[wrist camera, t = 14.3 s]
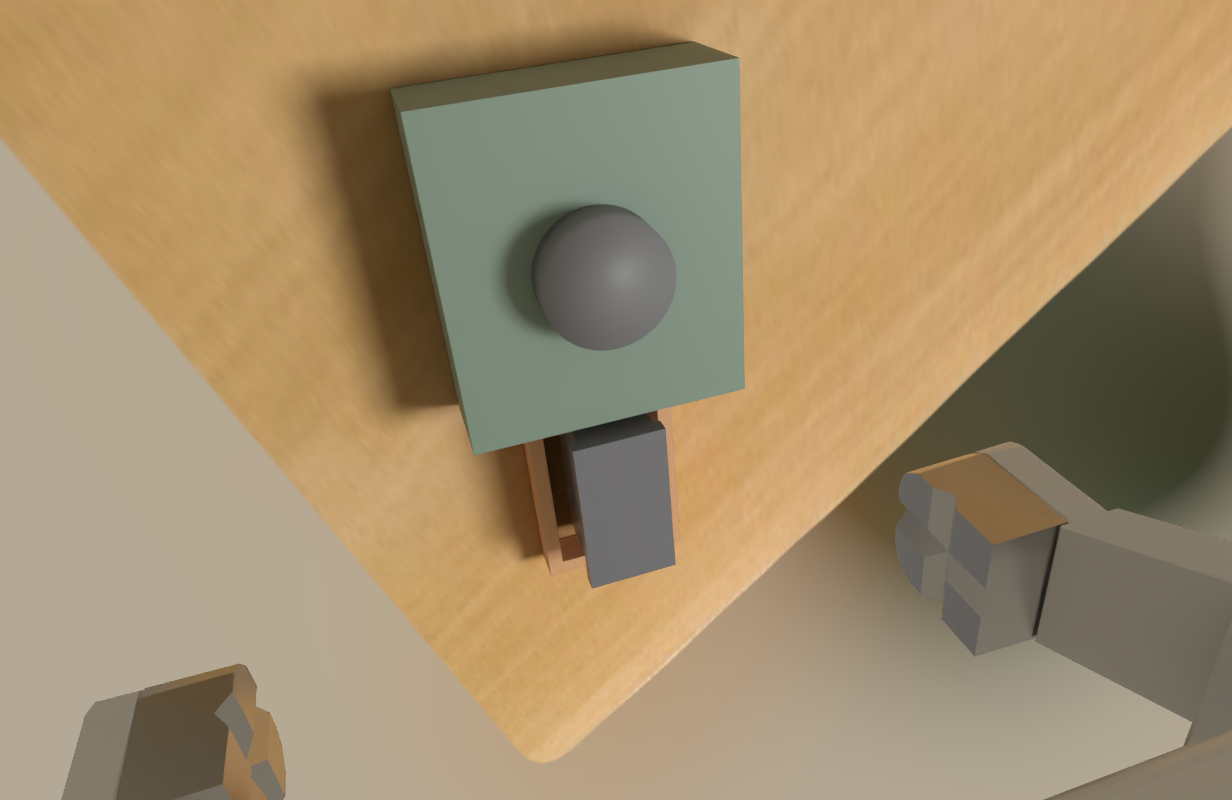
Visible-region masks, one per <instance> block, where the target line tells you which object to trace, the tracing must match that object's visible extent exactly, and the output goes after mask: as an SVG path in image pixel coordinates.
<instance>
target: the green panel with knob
mask: <svg viewBox="0 0 1232 800" xmlns="http://www.w3.org/2000/svg"><path fill="white" fill-rule="evenodd" d="M390 92H391V97H392V101H393V106H394V111H395V115H396V120H397V124H398V129H399V134H400V138H401V143H402V147H403V152H404V156H405V161H406V166H407V170H408V175H409V179H410V184H411V188H412V193H413V198H414V202H415V207H416V211H417V216H418V221H419V225H420V230H421V234H422V239H423V243H424V248H425V253H426V257H427V262H428V266H429V271H430V275H431V280H432V285H433V289H434V294H435V298H436V303H437V308H438V312H439V317H440V321H441V326H442V330H443V335H444V340H445V344H446V349H447V353H448V358H449V362H450V367H451V372H452V376H453V381H454V385H455V390H456V395H457V399H458V404H459V407H460V411H461V414H462V417H463V420H464V424H465V427H466V430H467V433H468V437H469V440H470V443H471V446H472V450H473V453H474V455H478V454H482V453H486V452H490V451H494V450H499V449H503V448H507V447H511V446H515V445H519V444H523V443H524V448H525V453H526V459H527V465H528V470H529V476H530V481H531V487H532V493H533V498H534V504H535V510H536V515H537V521H538V527H539V532H540V538H541V544H542V549H543V555H544V557H545V560H546V563H547V566H548V568H549V571H550V574H551V576H553V575H557V574H560V573H564V572H567V571H571V570H574V569H578V568H581V567H585V566H586V560H585V553H584V550H583V547H582V545H581V543H580V541H579V538H578V536H577V535H574V536H570V537H567V538H563V539H559V535H558V529H557V522H556V516H555V510H554V504H553V498H552V492H551V486H550V479H549V473H548V467H547V461H546V455H545V449H544V443H543V438H547V437H551V436H555V435H559V434H563V433H567V432H571V431H575V430H579V429H583V428H588V427H592V426H596V425H600V424H604V423H608V422H612V421H616V420H620V419H624V418H628V417H632V416H636V415H640V414H644V413H647V415H648V416H649V418H650V419H651V421H652V422H657V421H661V423H662V424H663V425H664V427H665V428H666V440H667V454H668V468H669V481H670V495H671V509H672V523H673V537H674V541H677V540H680V528H679V514H678V499H677V484H676V470H675V455H674V441H673V426H672V411H671V407H672V406H677V405H681V404H685V403H689V402H693V401H697V400H701V399H705V398H709V397H713V396H717V395H721V394H725V393H729V392H733V391H737V390H741V389H745V378H744V316H743V254H742V193H741V131H740V70H739V58H738V57H735V56H733V55H730V54H727V53H724V52H721V51H719V50H716V49H713V48H710V47H708V46H705V45H702V44H699V43H696V42H689V43H683V44H677V45H670V46H664V47H657V48H651V49H644V50H638V51H631V52H625V53H618V54H612V55H605V56H599V57H592V58H586V59H579V60H573V61H566V62H560V63H553V64H547V65H540V66H534V67H527V68H521V69H514V70H508V71H501V72H495V73H488V74H482V75H475V76H469V77H462V78H456V79H449V80H443V81H437V82H430V83H424V84H417V85H411V86H404V87H398V88H391V89H390Z"/></svg>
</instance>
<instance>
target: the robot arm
mask: <svg viewBox="0 0 1232 800" xmlns="http://www.w3.org/2000/svg"><path fill="white" fill-rule="evenodd" d="M899 500H900V501H901V502H902V503H903V504H904V505H905V506H906V507H907V508H908V510H907V511H906V512H905V514H904V515H903V517H902V518H901V520H900V521H899V522H898V524H897V526H896V541H895V546H896V550H897V554H898V557H899V561H900V565H901V567H902V569H903V571H904V572H905V574H906V576H907V578H908V580H909V581H910V582H911V584H912V585H913V586H914V587H915V588H916V590H917V591H918V592H919V593H920V594H921V595H923V596H926V597H928V598H930V599H933V600H936V601H938V602H940V603H942V620H943V621H944V622H945V623H946V624H947V626H949V628H950V629H951V630H952V631H953V632H954V634H955V635H956V636H957V637H958V638H959V639H960V640H961V642H962V643H963V644H964V645H965V646H966V647H967V648H968V649H969V651H971V653H972V654H973V655H974V656H978V655H981V654H984V653H988V652H991V651H994V650H997V649H1001V648H1004V647H1007V646H1011V645H1014V644H1017V643H1020V642H1024V641H1027V640H1030V639H1033V638H1036V642H1038V643H1039V644H1041V645H1044V646H1045V647H1047V648H1049V649H1051V650H1053V651H1055V652H1057V653H1059V654H1061V655H1063V656H1065V657H1067V658H1069V659H1071V660H1073V661H1075V662H1076V663H1079V664H1080V665H1083V666H1084V667H1086V668H1088V669H1090V670H1092V671H1094V672H1096V673H1098V674H1100V675H1102V676H1104V677H1106V678H1108V679H1110V680H1111V681H1113V682H1115V683H1117V684H1119V685H1121V686H1123V687H1125V688H1127V689H1129V690H1131V691H1133V692H1135V693H1137V694H1139V695H1141V696H1143V697H1145V698H1147V699H1149V700H1151V701H1152V702H1154V703H1156V704H1158V705H1160V706H1162V707H1164V708H1166V709H1168V710H1170V711H1172V712H1174V713H1176V714H1178V715H1180V716H1182V717H1183V718H1186V719H1187V720H1189V721H1191V722H1192V724H1191V727H1190V730H1189V733H1188V735H1187V738H1186V740H1185V743H1184V746H1183V747H1181V748H1178V749H1176V750H1173V751H1170V752H1168V753H1165V754H1162V755H1160V756H1157V757H1155V758H1152V759H1149V760H1147V761H1144V762H1141V763H1139V764H1136V765H1134V766H1131V767H1128V768H1126V769H1123V770H1120V771H1118V772H1115V773H1113V774H1110V775H1107V776H1105V777H1102V778H1099V779H1097V780H1094V781H1091V782H1089V783H1086V784H1084V785H1081V786H1078V787H1076V788H1073V789H1070V790H1068V791H1065V792H1062V793H1060V794H1057V795H1055V796H1052V797H1049V798H1047V799H1044V800H1232V542H1231V541H1228V540H1225V539H1221V538H1218V537H1214V536H1211V535H1207V534H1204V533H1200V532H1197V531H1193V530H1190V529H1187V528H1183V527H1180V526H1176V525H1173V524H1169V523H1166V522H1163V521H1159V520H1156V519H1152V518H1149V517H1145V516H1142V515H1139V514H1135V513H1132V512H1128V511H1124V510H1121V509H1115V510H1111V511H1108V512H1107V511H1106V510H1105V509H1104V508H1102V507H1101V506H1100V505H1098V504H1097V503H1096V502H1094V501H1093V500H1092V499H1090V498H1089V497H1088V496H1087V495H1085V494H1084V493H1083V492H1082V491H1080V490H1079V489H1078V488H1076V487H1075V486H1074V485H1073V484H1071V483H1070V482H1068V481H1067V480H1066V479H1065V478H1063V477H1062V476H1061V475H1060V474H1058V473H1057V472H1056V471H1054V470H1053V469H1052V468H1051V467H1049V466H1048V465H1047V464H1045V463H1044V462H1043V461H1042V460H1040V459H1039V458H1038V457H1036V456H1035V455H1034V454H1032V453H1031V452H1030V451H1029V450H1027V449H1026V448H1025V447H1023V446H1022V445H1020V444H1016V443H1013V442H1007V443H1003V444H1000V445H997V446H994V447H990V448H987V449H984V450H980V451H977V452H975V453H974V454H968V455H965V456H962V457H958V458H955V459H952V460H948V461H945V462H941V463H938V464H935V465H932V466H928V467H925V468H921V469H918V470H914V471H911V472H908V473H906V474H905V475H904V477H903V479H902V481H901V482H900V490H899ZM256 690H257V686H256V683H255V682H254V680H253V678H252V676H251V674H250V672H249V670H248V668H247V667H246V666H245V665H242V664H236V665H232V666H229V667H225V668H221V669H217V670H213V671H210V672H205V673H202V674H198V675H195V676H190V677H186V678H183V679H179V680H175V681H171V682H168V683H164V684H160V685H156V686H152V687H148V688H145V689H144V690H142V691H138V692H134V693H130V694H126V695H122V696H118V697H114V698H110V699H106V700H103V701H99V702H95V703H94V705H93V706H92V707H91V708H90V710H89V711H88V712H87V714H86V715H85V718H84V722H83V725H82V728H81V732H80V736H79V739H78V743H77V747H76V750H75V754H74V757H73V761H72V764H71V768H70V771H69V775H68V778H67V782H66V786H65V789H64V793H63V796H62V800H283V799H284V797H285V791H286V790H285V789H286V783H285V782H286V771H285V764H284V757H283V749H282V744H281V741H280V738H279V734H278V731H277V728H276V725H275V723H274V721H273V719H272V717H271V715H270V713H269V712H267V711H265V710H263V709H261V708H258V707H256V705H255V704H256Z"/></svg>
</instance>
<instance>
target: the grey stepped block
mask: <svg viewBox="0 0 1232 800" xmlns="http://www.w3.org/2000/svg"><path fill="white" fill-rule="evenodd" d="M559 438H560V445H561V452H562V458H563V465H564V472H565V478H566V485H567V492H568V498H569V505H570V512H571V518H572V524H573V527H574V529H575V531H576V534H577V536H578V538H579V541H580V543H581V545H582V547H583V550H584V553H585V560H586V567H587V574H588V580H589V582H590V584H591V587H592V588H596V587H599V586H603V585H606V584H610V583H613V582H617V581H620V580H624V579H627V578H630V577H634V576H637V575H641V574H644V573H648V572H651V571H655V570H658V569H662V568H665V567H669V566H672V565H676V564H675V550H674V537H673V523H672V509H671V495H670V481H669V468H668V454H667V440H666V428H665V427H664V425H663V424H662V423H661V421H657V422H652V421H651V419H650V418H649V416H648V415H647V413H644V414H640V415H636V416H632V417H628V418H624V419H620V420H616V421H612V422H608V423H604V424H600V425H596V426H592V427H588V428H583V429H579V430H575V431H571V432H567V433H563V434H559Z"/></svg>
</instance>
